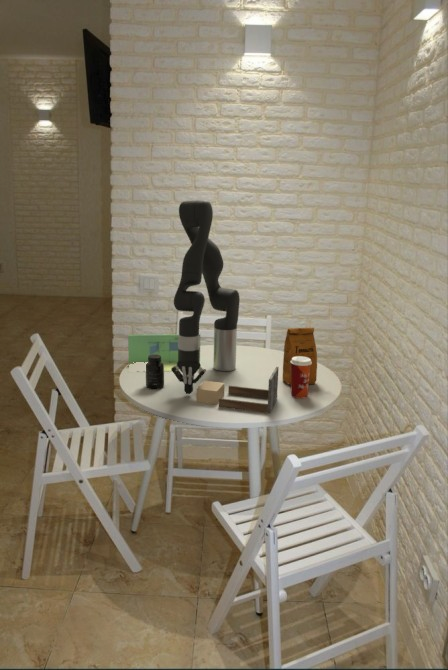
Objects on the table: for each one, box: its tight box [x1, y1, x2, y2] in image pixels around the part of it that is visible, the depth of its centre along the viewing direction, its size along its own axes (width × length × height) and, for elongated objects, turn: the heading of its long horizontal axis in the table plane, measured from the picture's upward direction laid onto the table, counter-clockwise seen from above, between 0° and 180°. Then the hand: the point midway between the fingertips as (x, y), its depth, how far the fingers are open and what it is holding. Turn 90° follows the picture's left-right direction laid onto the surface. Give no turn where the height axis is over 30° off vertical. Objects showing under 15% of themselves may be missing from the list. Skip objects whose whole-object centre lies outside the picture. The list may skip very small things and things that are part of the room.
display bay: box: [218, 366, 280, 414], centre depth 207 cm, size 14×18×12 cm
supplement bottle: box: [145, 355, 165, 391], centre depth 221 cm, size 7×7×12 cm
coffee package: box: [282, 327, 318, 386], centre depth 228 cm, size 10×12×22 cm
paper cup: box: [290, 356, 312, 399], centre depth 215 cm, size 8×8×14 cm
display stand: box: [127, 333, 202, 373], centre depth 245 cm, size 30×12×12 cm, turn 97°
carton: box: [195, 380, 225, 405], centre depth 212 cm, size 9×8×5 cm
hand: (188, 393), depth 214 cm, fingers closed
